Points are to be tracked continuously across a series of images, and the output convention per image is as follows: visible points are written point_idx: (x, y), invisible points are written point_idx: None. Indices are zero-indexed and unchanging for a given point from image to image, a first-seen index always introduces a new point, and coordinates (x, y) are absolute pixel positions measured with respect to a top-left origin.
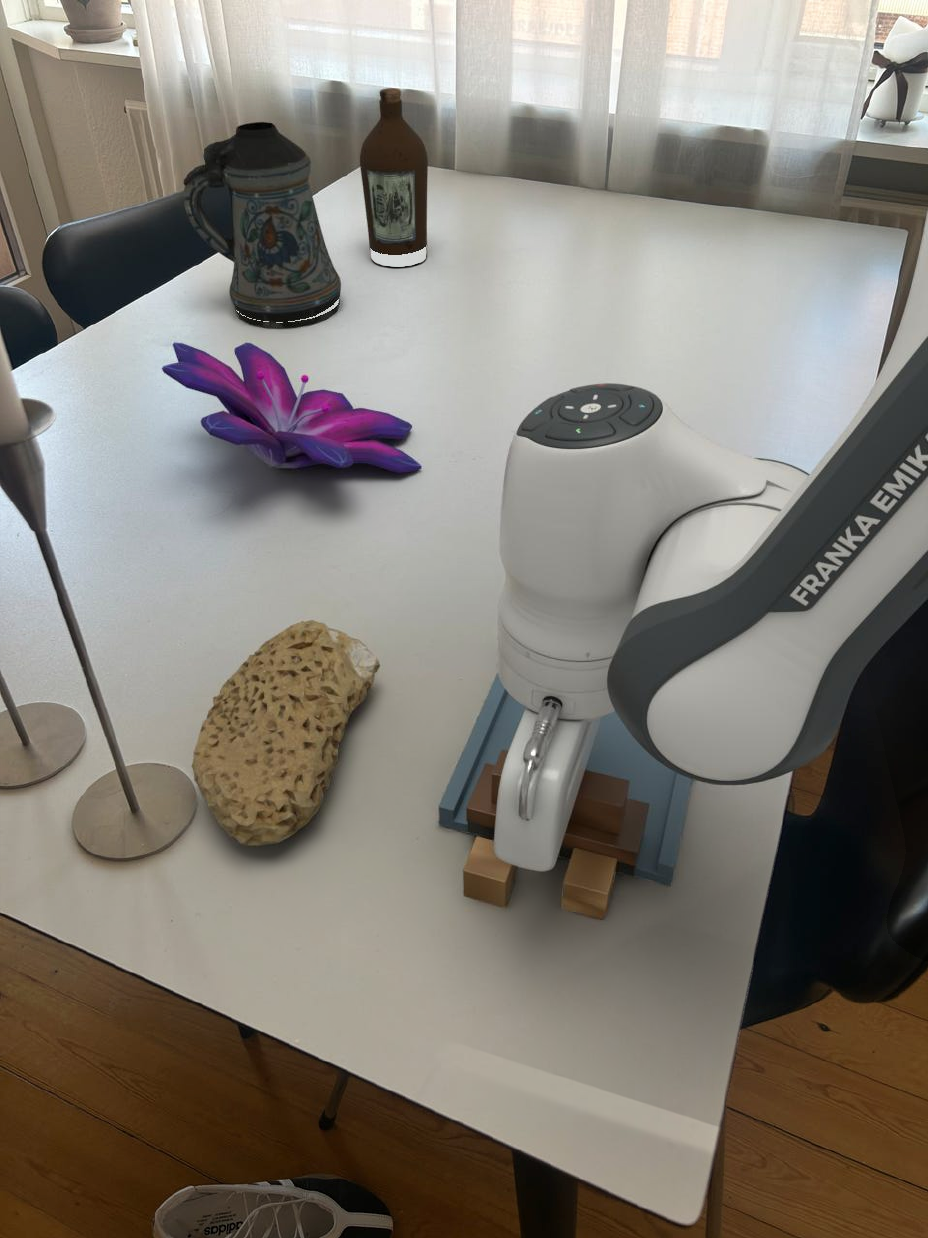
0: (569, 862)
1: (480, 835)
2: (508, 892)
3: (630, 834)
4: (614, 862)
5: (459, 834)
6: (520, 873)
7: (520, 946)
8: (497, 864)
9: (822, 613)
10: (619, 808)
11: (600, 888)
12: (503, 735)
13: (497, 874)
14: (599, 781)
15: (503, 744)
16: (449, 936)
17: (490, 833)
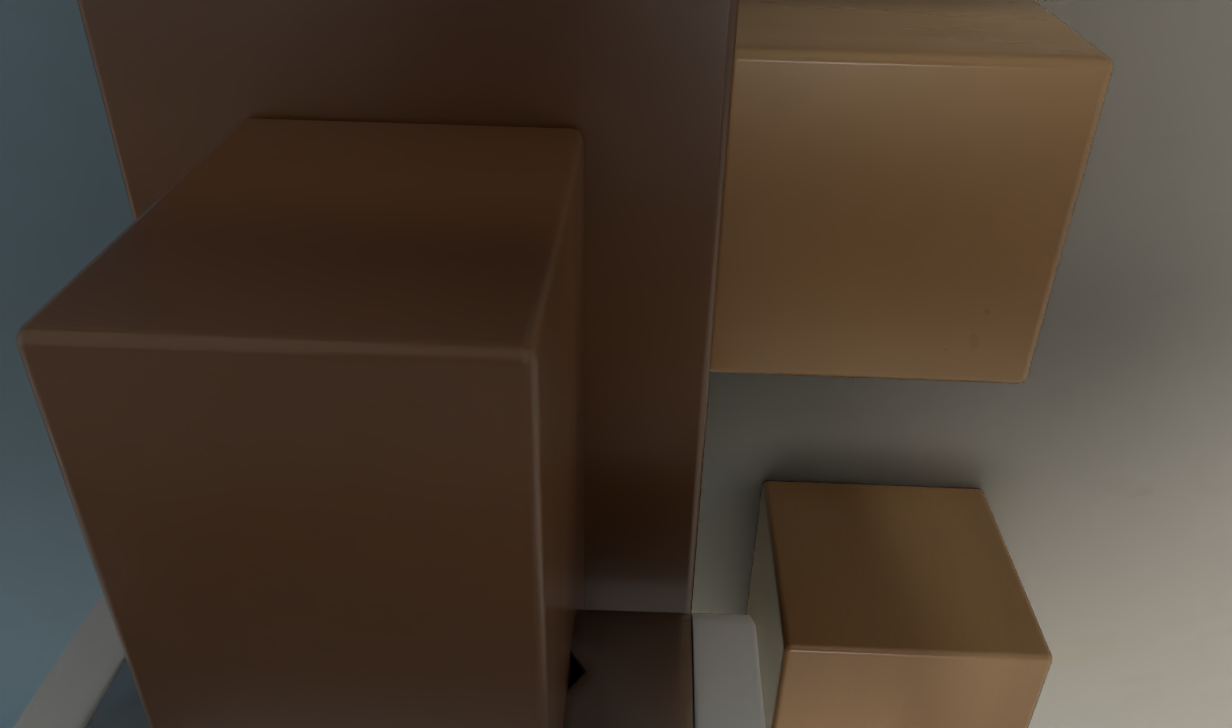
0: (840, 376)
1: None
2: (935, 520)
3: (530, 10)
4: (774, 66)
5: None
6: (761, 465)
7: (1208, 383)
8: (934, 711)
9: None
10: (542, 360)
11: (1064, 132)
12: (5, 718)
13: (1004, 700)
14: (251, 644)
15: None
16: (1158, 645)
17: None
